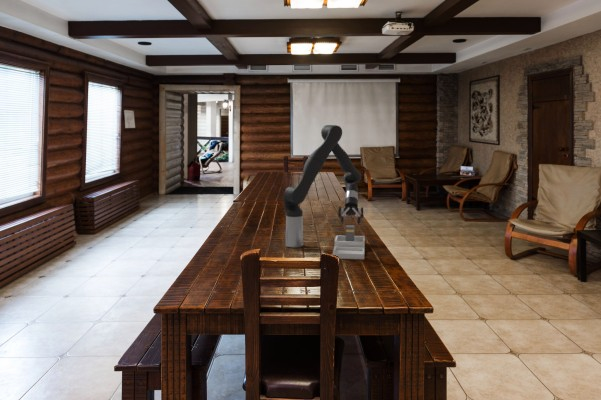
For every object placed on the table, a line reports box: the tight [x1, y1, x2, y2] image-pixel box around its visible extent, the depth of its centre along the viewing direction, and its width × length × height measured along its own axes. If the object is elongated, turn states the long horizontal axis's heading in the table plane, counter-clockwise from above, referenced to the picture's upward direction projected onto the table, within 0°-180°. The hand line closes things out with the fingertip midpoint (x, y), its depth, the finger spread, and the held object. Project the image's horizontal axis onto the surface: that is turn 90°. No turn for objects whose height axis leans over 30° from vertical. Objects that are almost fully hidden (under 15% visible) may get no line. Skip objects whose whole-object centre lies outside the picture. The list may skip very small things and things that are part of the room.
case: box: [334, 235, 366, 249], centre depth 270 cm, size 16×16×5 cm
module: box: [345, 224, 355, 241], centre depth 270 cm, size 4×5×11 cm
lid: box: [332, 246, 365, 260], centre depth 256 cm, size 16×14×2 cm
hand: (350, 223), depth 275 cm, fingers open, 8 cm apart
